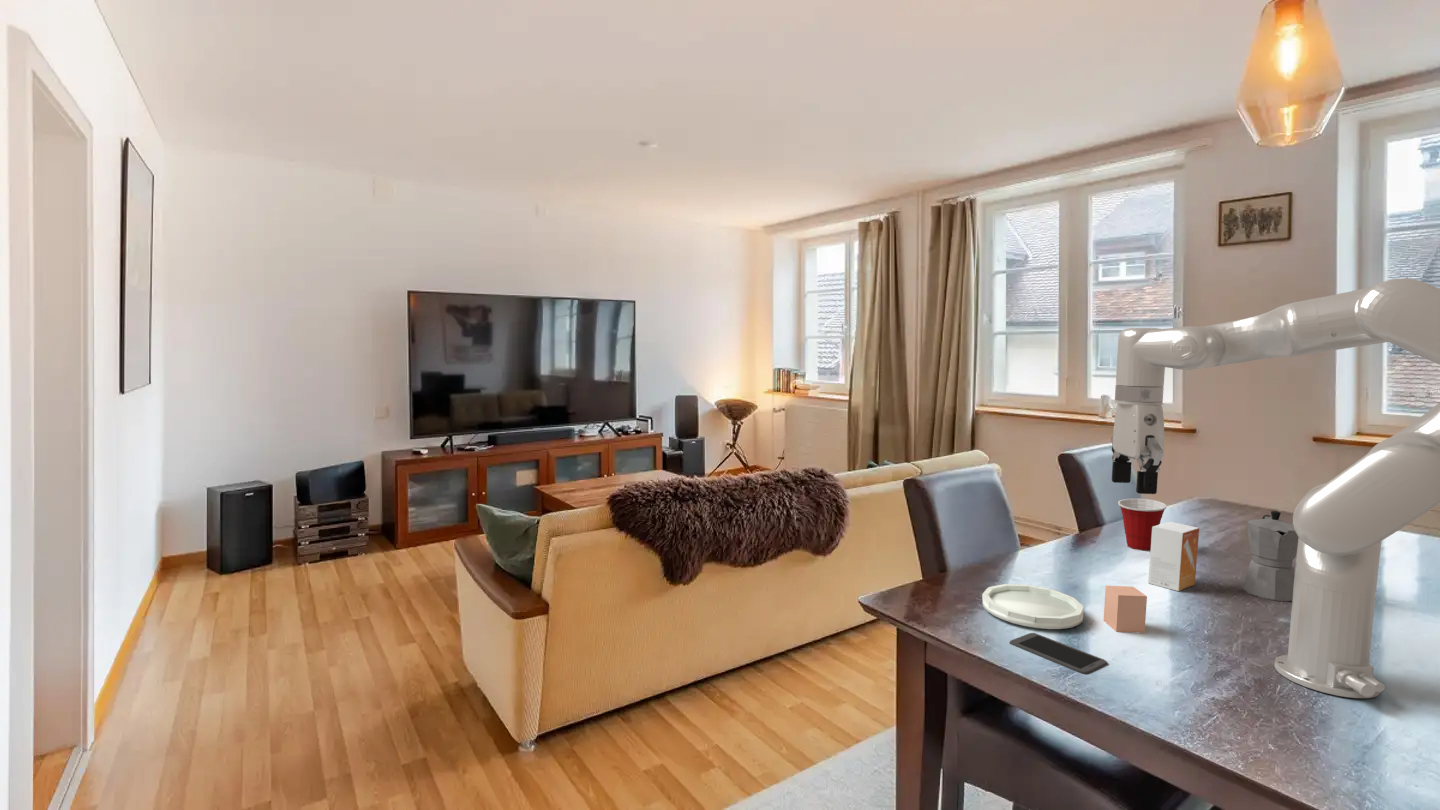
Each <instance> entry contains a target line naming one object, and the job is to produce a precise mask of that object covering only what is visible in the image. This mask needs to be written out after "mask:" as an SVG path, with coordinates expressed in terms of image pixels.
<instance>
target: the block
mask: <svg viewBox="0 0 1440 810" xmlns="http://www.w3.org/2000/svg"><path fill="white" fill-rule="evenodd" d="M1147 602H1148V596H1147V595H1146V594H1145V593H1143V592H1141V591H1140V590H1139V589H1137V588H1136V587H1134V586H1130V585H1129V586H1127V585H1126V586H1124V585H1105V589H1104V604H1103V605H1104V606H1103V622H1104V623H1105V622H1106V623H1105V624H1106V625H1107V626H1108V627H1110V628H1111V629H1112V630H1113V629H1114V630H1113V631H1114V632H1116V633H1131V632H1139V633H1138V634H1145V633H1146V620H1147V619H1146V618H1147V617H1146V615H1147Z"/></svg>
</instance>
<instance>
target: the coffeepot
mask: <svg viewBox="0 0 1440 810" xmlns="http://www.w3.org/2000/svg"><path fill="white" fill-rule="evenodd" d="M1281 514H1282V513H1281V512H1280V511H1278V510H1273V511H1270V515H1269V514H1264V515H1263V517H1262V518H1260V519H1259V518H1256V519H1253V518H1252V519H1250V520H1248V521H1247V522H1246V525H1247V536H1248V545H1249V552H1250V553H1251V554H1252V556H1251V560H1250V562H1249V565H1248V569H1247V572H1246V575H1245V578H1244V582H1243V585H1242V590H1243V591H1244V592H1245V591H1246V593H1247V594H1249V595H1251V596H1253V595H1254V596H1253V597H1256V596H1257V597H1256V598H1260V599H1264V598H1265V600H1268V599H1269V600H1268V601H1276V602H1292V599H1293V587H1294V576H1295V569H1294V568H1295V567H1293V563H1294V562H1293V561H1294V560H1295V559H1296V556H1297V547H1298V539H1299V537H1298V535H1297V533H1296V531H1295V529H1294V526H1293V523H1292V522H1287V521H1284V520H1281V519H1280V516H1281Z"/></svg>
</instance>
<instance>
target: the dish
mask: <svg viewBox="0 0 1440 810" xmlns="http://www.w3.org/2000/svg"><path fill="white" fill-rule="evenodd" d="M981 595H982V596H981V597H982V598H981V599H982V606H983V608H984V610H985V611H987V612H988V613H989V614H990V615H993V616H994V617H996V618H999V619H1001V620H1003V621H1006V622H1008V623H1011V624H1014V625H1015V624H1016V625H1020V626H1024V627H1028V628H1035V629H1044V630H1045V629H1047V630H1061V629H1062V630H1063V629H1070V628H1071V629H1072V628H1074V627H1077V626H1079V625H1081V623H1082V622H1083V620H1084V610H1085V609H1084V607H1085V606H1084V605H1083V604H1082V603H1080V602H1079V601H1078V600H1077V599H1076V598H1075V597H1074V596H1070V595H1068V594H1066V593H1063V592H1060V591H1058V590H1056V589H1051V588H1048V587H1047V588H1046V587H1041V586H1036V585H1030V584H1013V583H1003V584H998V585H992V586H988V587H987V588H986V589H985V590H984V592H982V594H981Z"/></svg>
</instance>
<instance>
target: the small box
mask: <svg viewBox="0 0 1440 810" xmlns="http://www.w3.org/2000/svg"><path fill="white" fill-rule="evenodd" d="M1199 536H1200V527H1198V526H1192V525H1187V524H1182V523H1178V522H1172V521H1166V522H1164V523H1160V524H1159V525H1156V526H1153V527H1152V537H1151V550H1150V555H1149V569H1148V581H1147V583H1148V584H1151V585H1153V586H1157V587H1161V588H1164V589H1168V590H1171V591H1172V590H1173V591H1176V592H1180V591H1182V590H1184V589H1186V588H1187V589H1188V588H1189V587H1192V586H1194V585H1195V584H1196V574H1197V562H1198V548H1199Z"/></svg>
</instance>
